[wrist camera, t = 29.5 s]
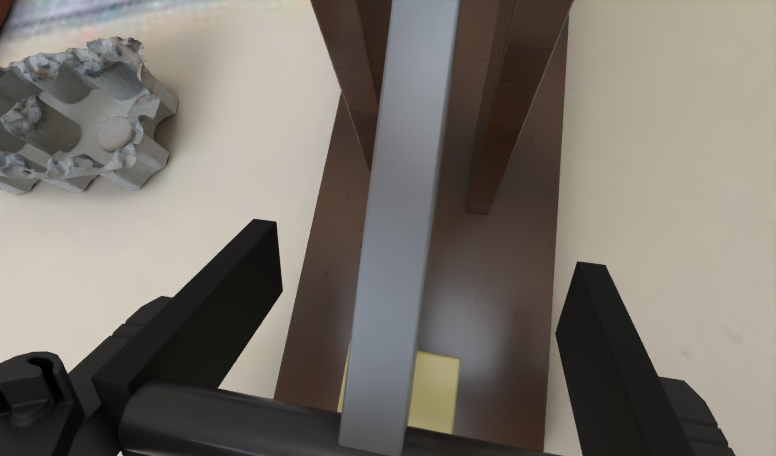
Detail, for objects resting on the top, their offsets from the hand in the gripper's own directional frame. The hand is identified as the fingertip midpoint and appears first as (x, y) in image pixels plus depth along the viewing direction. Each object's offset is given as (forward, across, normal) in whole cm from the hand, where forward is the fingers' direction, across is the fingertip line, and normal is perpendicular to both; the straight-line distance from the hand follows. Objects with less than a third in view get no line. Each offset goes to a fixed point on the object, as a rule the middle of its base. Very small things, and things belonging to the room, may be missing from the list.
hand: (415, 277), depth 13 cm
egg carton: (+9, +20, 0) cm, 22 cm away
